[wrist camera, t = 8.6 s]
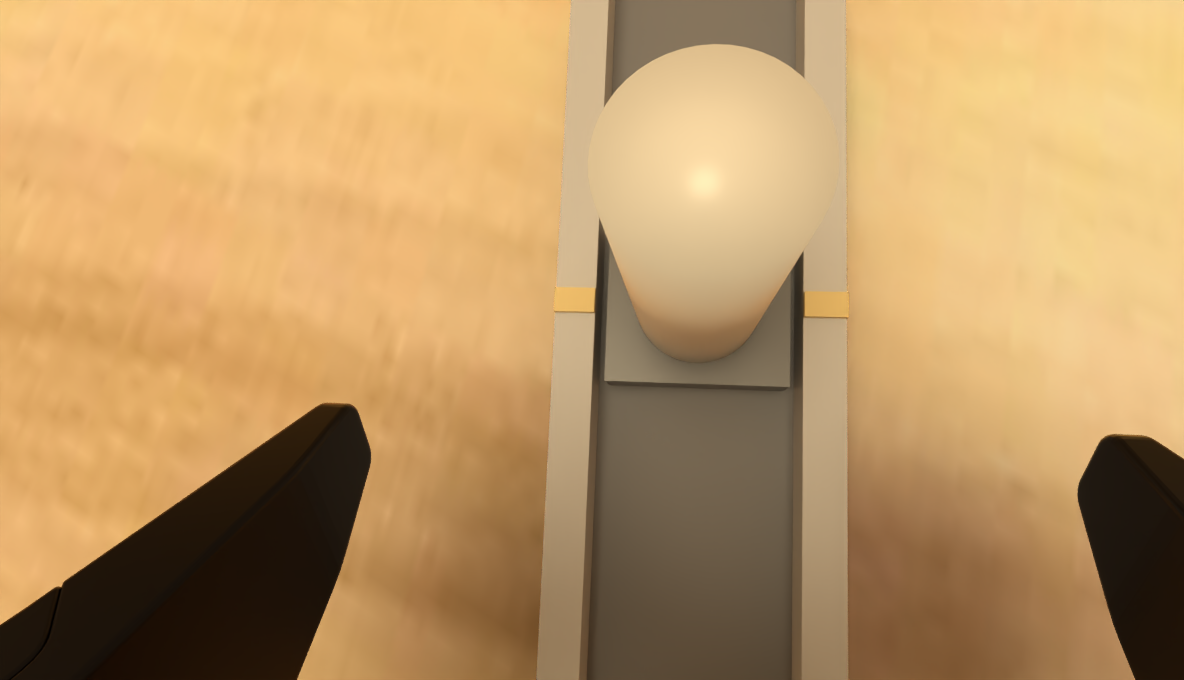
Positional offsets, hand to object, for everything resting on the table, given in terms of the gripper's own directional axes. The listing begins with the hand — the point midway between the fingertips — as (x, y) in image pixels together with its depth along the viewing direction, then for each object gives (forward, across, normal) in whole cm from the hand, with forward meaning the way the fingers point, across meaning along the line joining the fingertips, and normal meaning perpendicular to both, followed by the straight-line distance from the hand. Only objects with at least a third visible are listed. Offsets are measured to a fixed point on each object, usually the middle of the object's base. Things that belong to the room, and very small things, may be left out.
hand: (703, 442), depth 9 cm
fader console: (+10, 0, +6) cm, 12 cm away
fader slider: (+9, 0, +4) cm, 10 cm away
